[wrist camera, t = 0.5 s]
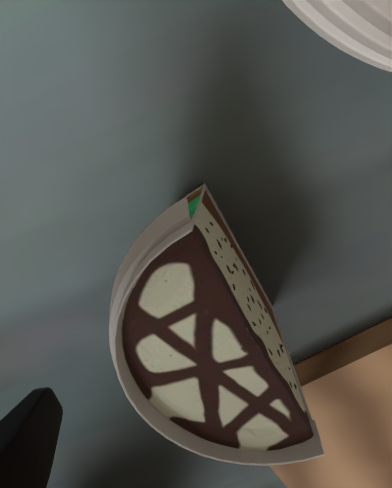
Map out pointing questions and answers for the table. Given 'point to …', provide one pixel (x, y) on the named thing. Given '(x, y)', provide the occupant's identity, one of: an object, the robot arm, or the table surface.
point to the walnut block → (348, 414)
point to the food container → (206, 343)
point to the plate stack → (351, 26)
